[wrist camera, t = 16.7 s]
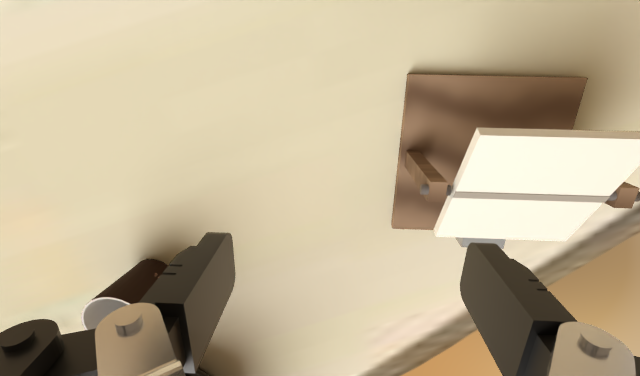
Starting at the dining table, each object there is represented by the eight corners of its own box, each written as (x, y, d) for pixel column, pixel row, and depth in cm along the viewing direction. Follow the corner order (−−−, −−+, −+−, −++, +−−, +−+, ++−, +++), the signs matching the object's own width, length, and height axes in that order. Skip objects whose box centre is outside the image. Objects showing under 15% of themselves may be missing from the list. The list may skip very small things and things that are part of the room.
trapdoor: (476, 127, 27) (480, 136, 26) (655, 131, 26) (665, 140, 25) (433, 229, 37) (435, 237, 36) (561, 233, 36) (566, 242, 36)
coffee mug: (129, 246, 50) (81, 289, 40) (185, 261, 50) (151, 307, 41) (124, 305, 54) (80, 357, 44) (177, 318, 54) (144, 372, 45)
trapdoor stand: (407, 74, 39) (438, 79, 27) (580, 77, 38) (688, 84, 27) (391, 224, 46) (410, 280, 35) (536, 229, 46) (606, 288, 34)
